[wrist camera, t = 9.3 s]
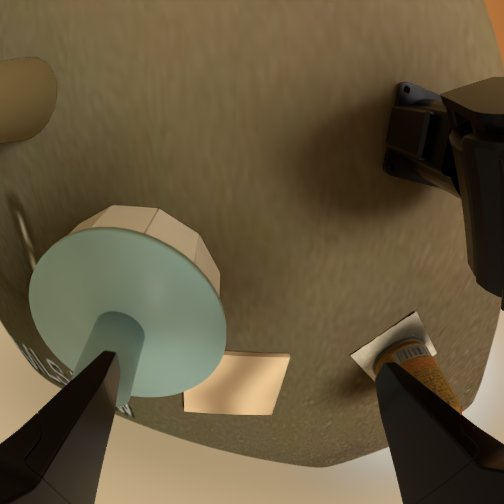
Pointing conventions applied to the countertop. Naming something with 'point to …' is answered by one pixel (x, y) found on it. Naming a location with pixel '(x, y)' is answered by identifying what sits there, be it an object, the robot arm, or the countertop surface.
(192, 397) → the plate
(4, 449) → the robot arm
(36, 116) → the pepper shaker
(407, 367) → the condiment
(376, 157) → the countertop surface
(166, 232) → the bowl
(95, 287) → the lid
